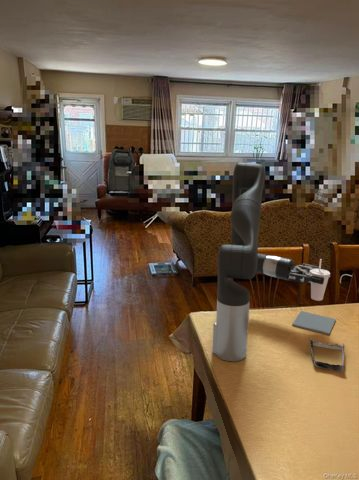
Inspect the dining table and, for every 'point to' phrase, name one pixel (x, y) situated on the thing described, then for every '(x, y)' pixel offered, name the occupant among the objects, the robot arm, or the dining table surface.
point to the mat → (314, 322)
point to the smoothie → (316, 288)
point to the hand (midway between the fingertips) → (326, 278)
